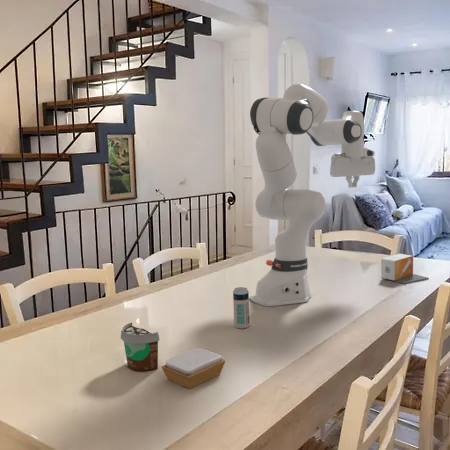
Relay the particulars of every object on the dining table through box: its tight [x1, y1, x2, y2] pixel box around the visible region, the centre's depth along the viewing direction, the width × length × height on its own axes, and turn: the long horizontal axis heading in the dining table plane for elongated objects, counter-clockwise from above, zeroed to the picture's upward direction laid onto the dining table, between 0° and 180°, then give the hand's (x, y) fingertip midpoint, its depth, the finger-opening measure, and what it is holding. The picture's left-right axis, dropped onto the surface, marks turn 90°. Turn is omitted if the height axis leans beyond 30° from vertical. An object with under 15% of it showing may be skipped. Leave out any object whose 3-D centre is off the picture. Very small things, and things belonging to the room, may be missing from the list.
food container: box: [120, 322, 160, 373], centre depth 131 cm, size 12×6×10 cm, turn 45°
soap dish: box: [160, 347, 226, 389], centre depth 125 cm, size 12×10×5 cm
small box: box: [380, 253, 414, 281], centre depth 208 cm, size 8×6×13 cm
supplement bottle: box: [232, 286, 250, 330], centre depth 157 cm, size 5×5×12 cm
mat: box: [383, 273, 430, 285], centre depth 207 cm, size 13×12×1 cm
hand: (352, 187), depth 207 cm, fingers closed
